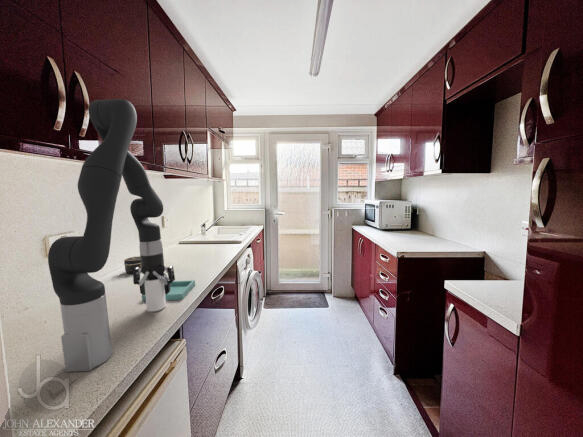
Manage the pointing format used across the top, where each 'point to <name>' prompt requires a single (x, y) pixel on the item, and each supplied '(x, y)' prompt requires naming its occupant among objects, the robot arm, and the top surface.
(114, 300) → the top surface
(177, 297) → the tray
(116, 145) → the robot arm
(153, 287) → the can
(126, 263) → the jar
